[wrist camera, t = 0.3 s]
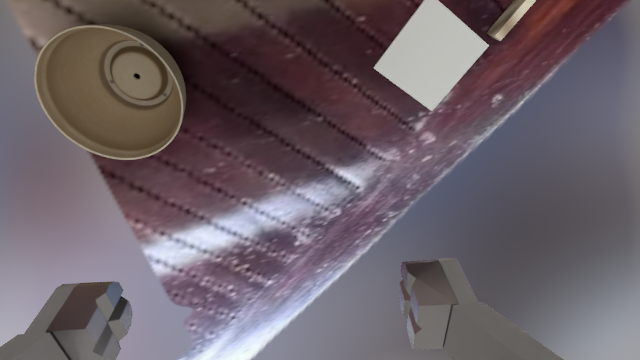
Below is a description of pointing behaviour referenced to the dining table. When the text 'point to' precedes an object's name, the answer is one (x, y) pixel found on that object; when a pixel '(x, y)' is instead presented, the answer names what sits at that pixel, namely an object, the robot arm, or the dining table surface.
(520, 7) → the lane
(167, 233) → the dining table surface
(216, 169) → the dining table surface
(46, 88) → the planter bowl
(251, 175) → the dining table surface
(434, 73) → the mat
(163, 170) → the dining table surface
